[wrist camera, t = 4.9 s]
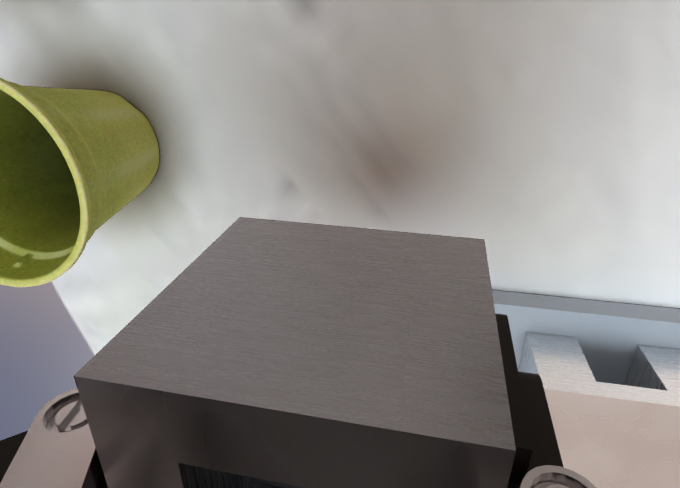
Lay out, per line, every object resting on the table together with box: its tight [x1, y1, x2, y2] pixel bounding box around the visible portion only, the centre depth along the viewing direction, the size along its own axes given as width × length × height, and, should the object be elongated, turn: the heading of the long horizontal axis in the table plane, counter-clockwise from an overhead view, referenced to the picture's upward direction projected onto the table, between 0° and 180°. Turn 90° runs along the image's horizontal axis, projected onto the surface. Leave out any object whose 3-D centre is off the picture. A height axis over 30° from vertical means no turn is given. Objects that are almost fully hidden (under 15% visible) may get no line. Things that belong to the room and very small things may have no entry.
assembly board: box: [492, 290, 680, 385], centre depth 27 cm, size 20×18×9 cm
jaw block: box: [74, 217, 516, 488], centre depth 10 cm, size 6×6×6 cm
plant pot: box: [0, 78, 159, 287], centre depth 23 cm, size 9×9×9 cm
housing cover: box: [518, 332, 680, 488], centre depth 24 cm, size 7×8×4 cm
